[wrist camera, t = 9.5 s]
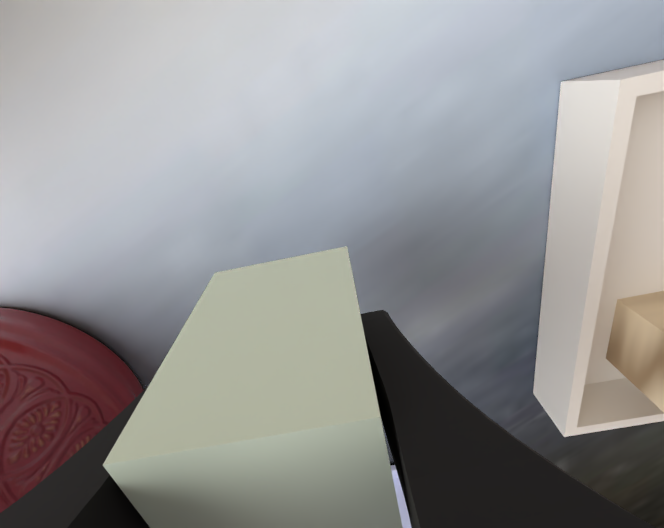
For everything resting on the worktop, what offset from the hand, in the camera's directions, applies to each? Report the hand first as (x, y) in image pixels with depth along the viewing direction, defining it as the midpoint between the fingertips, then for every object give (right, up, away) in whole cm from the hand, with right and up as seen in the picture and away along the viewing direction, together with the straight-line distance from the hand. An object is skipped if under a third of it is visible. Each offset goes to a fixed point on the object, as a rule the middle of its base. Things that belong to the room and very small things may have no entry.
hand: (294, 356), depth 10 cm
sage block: (0, +1, +2) cm, 2 cm away
